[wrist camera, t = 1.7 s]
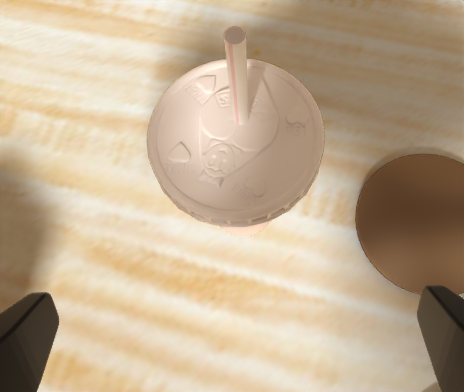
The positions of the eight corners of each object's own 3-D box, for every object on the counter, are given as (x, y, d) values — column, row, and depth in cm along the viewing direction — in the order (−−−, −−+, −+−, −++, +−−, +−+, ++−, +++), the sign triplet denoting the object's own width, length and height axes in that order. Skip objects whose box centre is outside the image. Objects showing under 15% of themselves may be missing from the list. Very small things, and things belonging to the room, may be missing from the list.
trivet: (530, 267, 21) (538, 266, 20) (393, 317, 20) (397, 317, 20) (457, 140, 23) (462, 136, 23) (333, 183, 23) (335, 179, 22)
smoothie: (313, 179, 23) (396, -7, 10) (271, 279, 21) (300, 223, 8) (216, 140, 24) (169, -75, 11) (170, 233, 23) (46, 117, 9)
